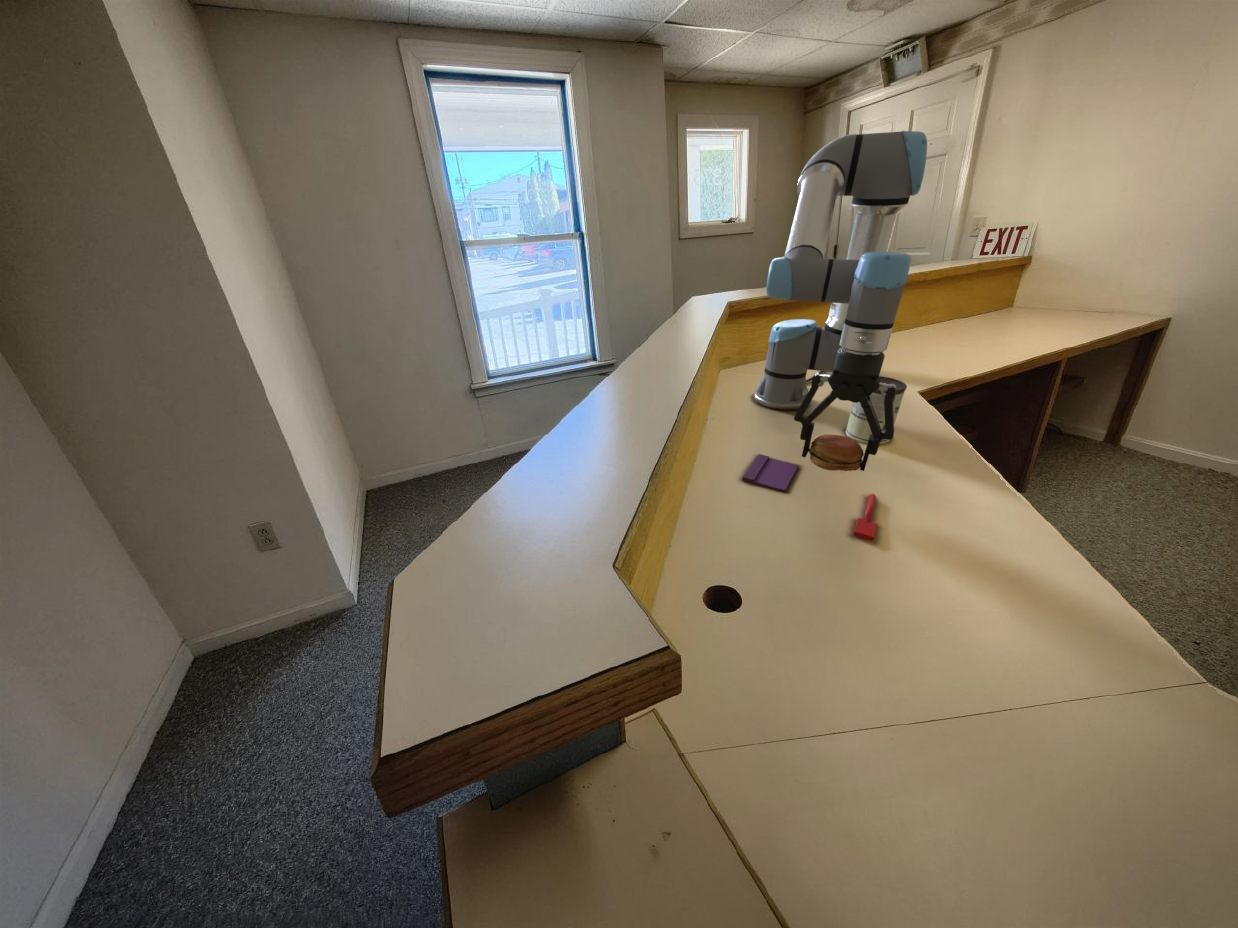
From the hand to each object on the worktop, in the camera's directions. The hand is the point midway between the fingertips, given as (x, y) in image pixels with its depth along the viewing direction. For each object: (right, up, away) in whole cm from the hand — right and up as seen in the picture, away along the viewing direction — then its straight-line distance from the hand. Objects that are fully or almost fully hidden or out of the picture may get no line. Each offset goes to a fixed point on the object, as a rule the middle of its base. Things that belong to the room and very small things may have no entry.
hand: (833, 460), depth 90 cm
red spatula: (+5, -10, -4) cm, 12 cm away
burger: (0, 0, 0) cm, 0 cm away
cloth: (-9, -3, +9) cm, 13 cm away
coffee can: (+21, +6, +25) cm, 33 cm away
